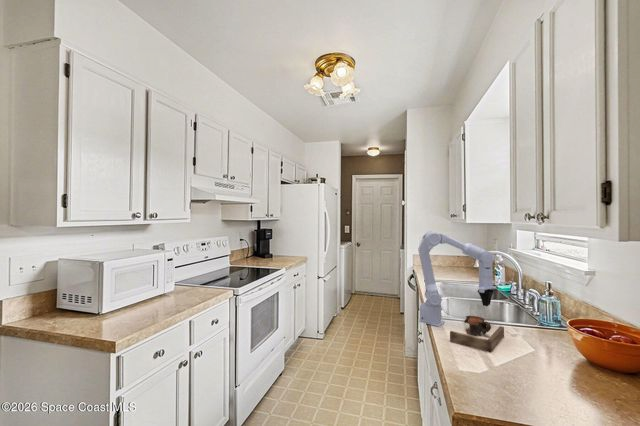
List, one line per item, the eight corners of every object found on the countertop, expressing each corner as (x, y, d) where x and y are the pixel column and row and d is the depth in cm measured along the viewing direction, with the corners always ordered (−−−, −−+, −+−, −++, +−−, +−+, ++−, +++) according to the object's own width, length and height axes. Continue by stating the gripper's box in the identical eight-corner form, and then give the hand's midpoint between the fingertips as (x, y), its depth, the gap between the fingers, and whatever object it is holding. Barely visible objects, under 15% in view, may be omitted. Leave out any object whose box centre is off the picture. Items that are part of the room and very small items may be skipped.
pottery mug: (459, 333, 131) (459, 314, 135) (472, 339, 135) (472, 320, 138) (485, 334, 121) (485, 314, 125) (498, 341, 125) (498, 321, 129)
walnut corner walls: (450, 341, 121) (449, 331, 121) (466, 327, 136) (466, 319, 136) (491, 352, 111) (490, 341, 111) (504, 336, 126) (503, 326, 126)
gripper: (491, 279, 131) (491, 310, 131) (499, 275, 142) (500, 303, 141) (473, 277, 136) (474, 307, 136) (483, 273, 147) (483, 300, 146)
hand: (486, 305), depth 139 cm, fingers closed
